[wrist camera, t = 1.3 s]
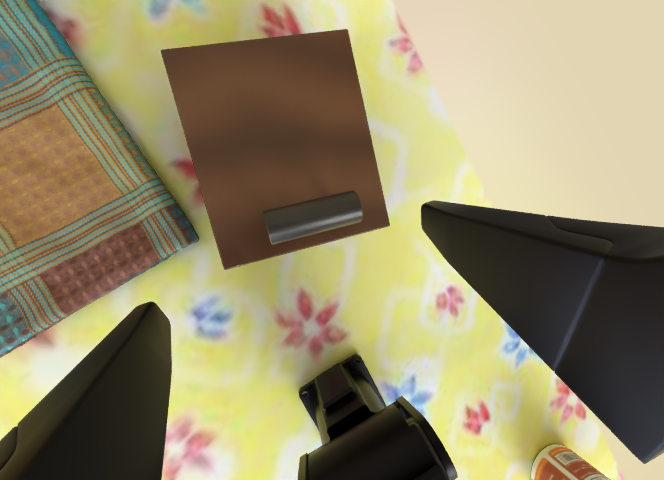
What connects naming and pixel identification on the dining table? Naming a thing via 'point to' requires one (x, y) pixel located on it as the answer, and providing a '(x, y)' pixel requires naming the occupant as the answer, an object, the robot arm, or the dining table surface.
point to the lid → (278, 142)
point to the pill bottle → (563, 466)
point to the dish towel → (68, 185)
